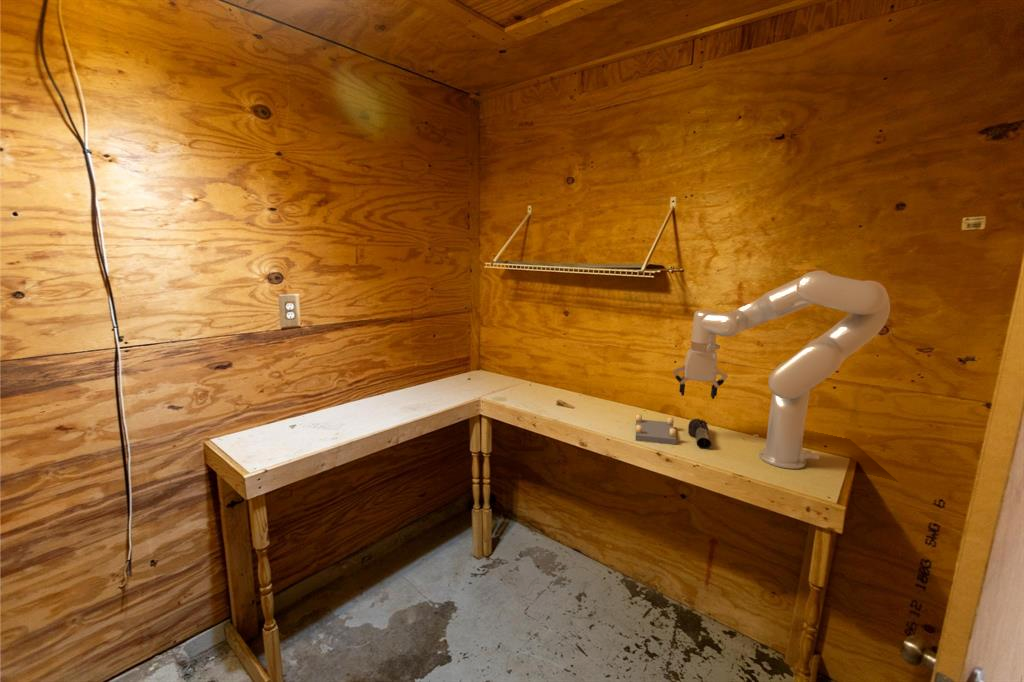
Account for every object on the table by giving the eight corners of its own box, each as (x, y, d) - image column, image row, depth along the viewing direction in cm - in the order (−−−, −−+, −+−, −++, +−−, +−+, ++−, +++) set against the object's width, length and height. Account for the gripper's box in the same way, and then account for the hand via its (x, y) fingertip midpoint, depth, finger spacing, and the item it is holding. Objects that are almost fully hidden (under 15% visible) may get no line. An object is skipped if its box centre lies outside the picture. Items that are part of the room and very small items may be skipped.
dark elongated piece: (711, 451, 149) (713, 434, 148) (689, 448, 151) (690, 432, 150) (706, 431, 166) (707, 416, 165) (686, 429, 168) (687, 414, 167)
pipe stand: (672, 427, 168) (673, 415, 167) (675, 444, 153) (676, 432, 152) (635, 424, 172) (636, 412, 171) (635, 440, 156) (636, 428, 156)
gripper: (728, 347, 154) (722, 395, 158) (674, 343, 159) (669, 390, 162) (733, 351, 147) (726, 402, 151) (676, 347, 151) (671, 396, 155)
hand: (697, 396), depth 156 cm, fingers open, 9 cm apart
